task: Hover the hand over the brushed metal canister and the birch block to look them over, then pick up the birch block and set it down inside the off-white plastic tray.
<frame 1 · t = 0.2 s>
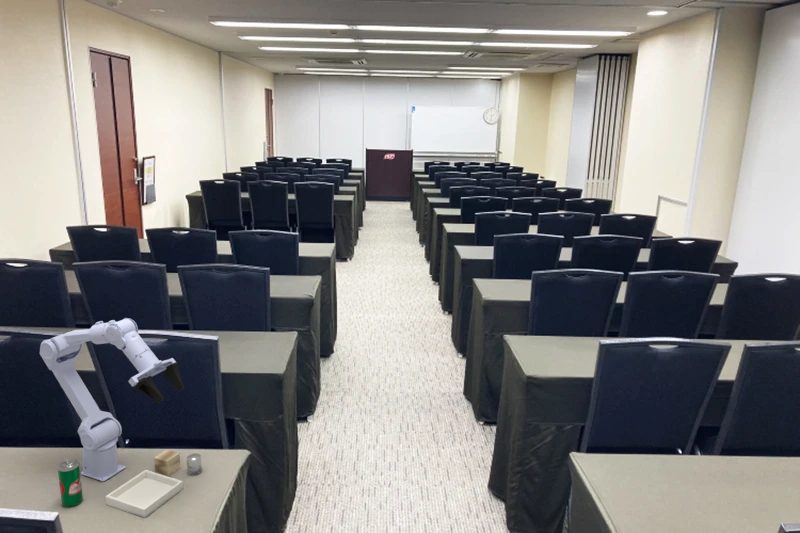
hand: (171, 395, 152), 30 cm above the table, tool tilted 45°, fingers open, 7 cm apart
soda can: (72, 502, 154), on the table
tray: (145, 496, 157), on the table
birch block: (167, 470, 170), on the table
metal canister: (194, 471, 169), on the table
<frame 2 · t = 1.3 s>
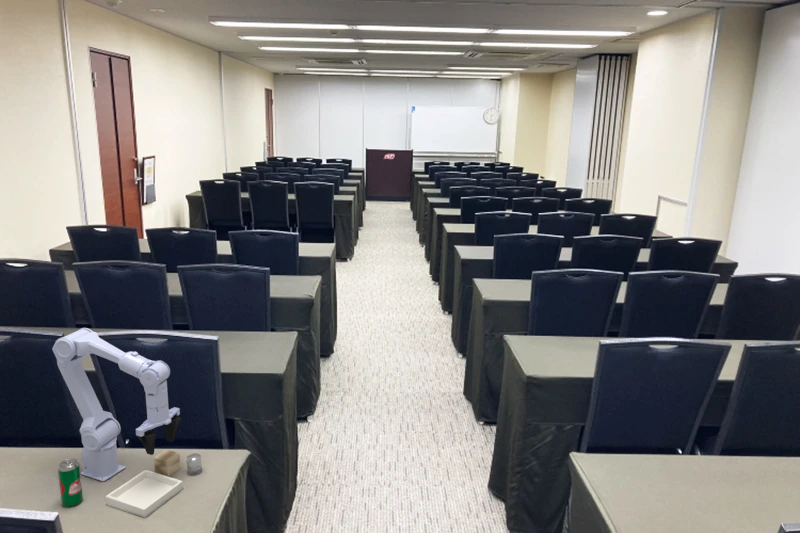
hand: (160, 447, 163), 10 cm above the table, tool pointing down, fingers open, 7 cm apart
nothing on the table moved.
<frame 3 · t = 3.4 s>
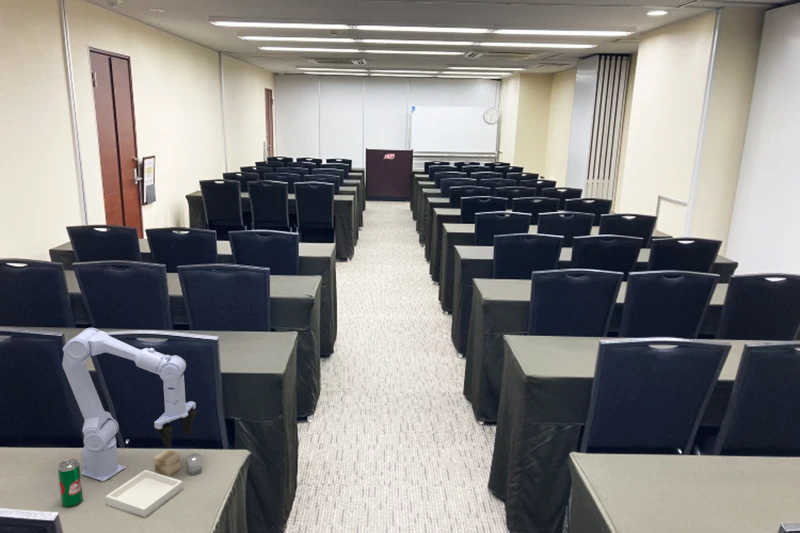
hand: (177, 439, 167), 10 cm above the table, tool pointing down, fingers open, 7 cm apart
nothing on the table moved.
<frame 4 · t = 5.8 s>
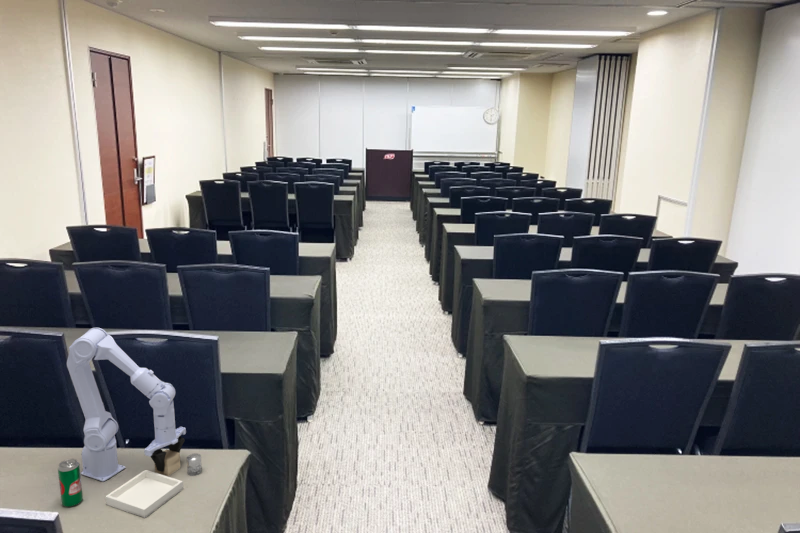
hand: (167, 465, 169), 1 cm above the table, tool pointing down, fingers closed on birch block, 5 cm apart
birch block: (167, 469, 170), on the table, touching gripper
everything else where it was.
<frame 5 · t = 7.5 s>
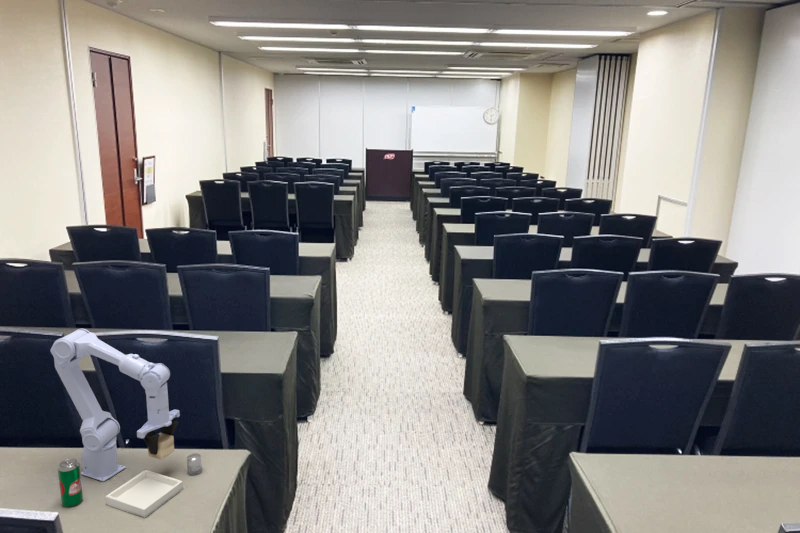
hand: (160, 448, 165), 9 cm above the table, tool pointing down, fingers closed on birch block, 5 cm apart
birch block: (161, 453, 165), point 7 cm above the table, touching gripper
everything else where it was.
when the fingers open (3 cm above the table, at t = 9.6 s): birch block drops 1 cm, resting on tray.
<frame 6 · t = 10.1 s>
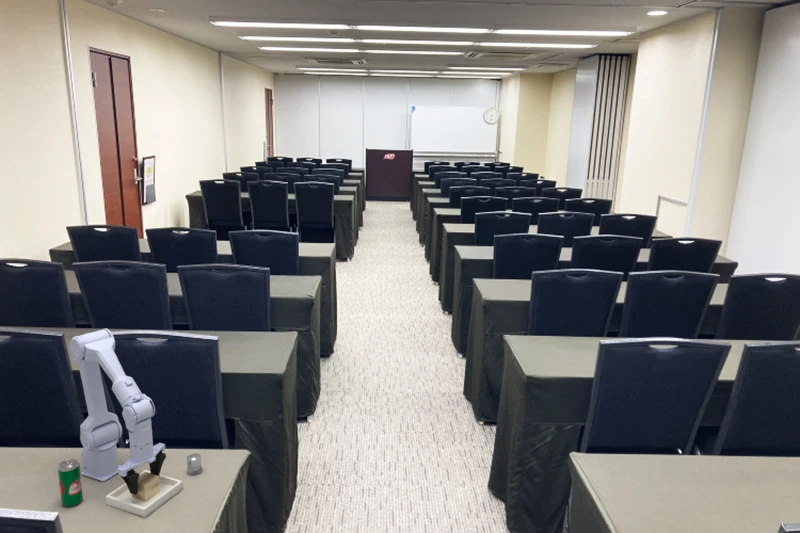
hand: (144, 485, 156), 3 cm above the table, tool pointing down, fingers open, 7 cm apart
birch block: (146, 494, 157), point 1 cm above the table, touching tray
everything else where it was.
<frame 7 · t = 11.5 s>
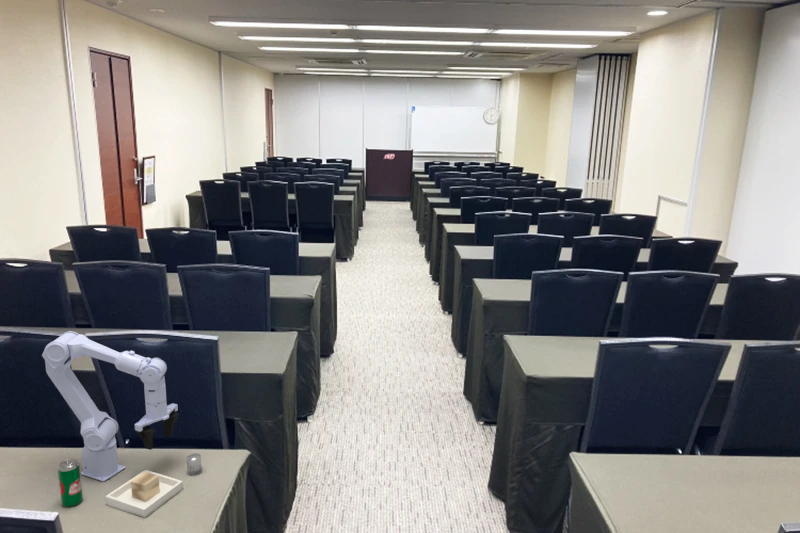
hand: (158, 442, 167), 9 cm above the table, tool pointing down, fingers open, 7 cm apart
nothing on the table moved.
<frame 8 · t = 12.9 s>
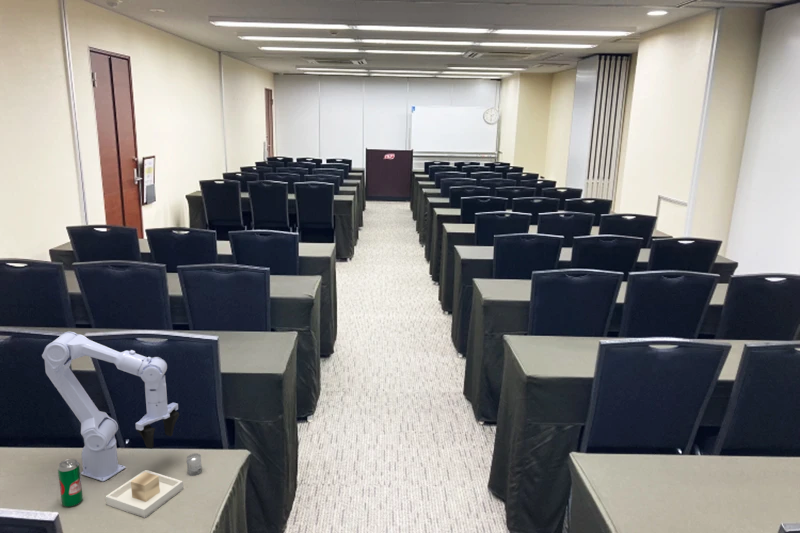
hand: (159, 441, 168), 9 cm above the table, tool pointing down, fingers open, 7 cm apart
nothing on the table moved.
at the end: birch block inside the target area on the tray (0.2 cm from its centre), point 0.6 cm above the tray's base; the gripper is holding nothing; metal canister moved 0.1 cm from its start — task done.
